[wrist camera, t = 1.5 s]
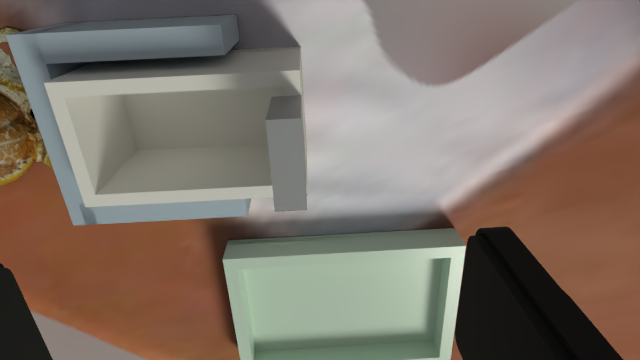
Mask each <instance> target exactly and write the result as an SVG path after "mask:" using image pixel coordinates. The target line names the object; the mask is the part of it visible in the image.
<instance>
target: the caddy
mask: <svg viewBox="0 0 640 360" xmlns="http://www.w3.org/2000/svg"><path fill="white" fill-rule="evenodd" d="M44 85H45V88H46V91H47V94H48V97H49V100H50V103H51V106H52V109H53V112H54V115H55V118H56V121H57V124H58V127H59V130H60V133H61V136H62V139H63V142H64V145H65V148H66V151H67V154H68V157H69V160H70V163H71V166H72V169H73V172H74V175H75V178H76V181H77V184H78V187H79V190H80V193H81V196H82V199H83V202H84V205H85V207H100V206H119V205H138V204H157V203H175V202H194V201H213V200H232V199H250V198H269V197H273V198H274V207H275V212H276V211H295V210H307V195H308V187H307V140H306V124H305V107H304V91H303V74H302V58H301V47H283V48H263V49H243V50H229V51H228V52H227V53H226V54H225V55H217V56H196V57H176V58H156V59H136V60H116V61H96V62H92V63H90V64H88V65H85V66H83V67H80V68H78V69H76V70H73V71H71V72H69V73H66V74H64V75H61V76H59V77H57V78H54V79H52V80H50V81H47V82H45V83H44Z"/></svg>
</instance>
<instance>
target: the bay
mask: <svg viewBox="0 0 640 360" xmlns="http://www.w3.org/2000/svg"><path fill="white" fill-rule="evenodd" d="M6 38H7V40H8V43H9V46H10V49H11V52H12V54H13V57H14V60H15V63H16V66H17V68H18V71H19V74H20V77H21V80H22V82H23V85H24V88H25V91H26V94H27V96H28V99H29V102H30V105H31V108H32V110H33V113H34V116H35V119H36V122H37V124H38V127H39V130H40V133H41V136H42V139H43V141H44V144H45V147H46V150H47V153H48V155H49V158H50V161H51V164H52V167H53V169H54V172H55V175H56V178H57V181H58V183H59V186H60V189H61V192H62V195H63V197H64V200H65V203H66V206H67V209H68V211H69V214H70V217H71V220H72V223H73V225H91V224H109V223H128V222H146V221H165V220H183V219H201V218H220V217H238V216H247V215H248V211H249V206H250V202H251V198H250V199H232V200H213V201H194V202H175V203H157V204H138V205H119V206H100V207H85V205H84V202H83V199H82V196H81V193H80V190H79V187H78V184H77V181H76V178H75V175H74V172H73V169H72V166H71V163H70V160H69V157H68V154H67V151H66V148H65V145H64V142H63V139H62V136H61V133H60V130H59V127H58V124H57V121H56V118H55V115H54V112H53V109H52V106H51V103H50V100H49V97H48V94H47V91H46V88H45V85H44V83H45V82H47V81H50V80H52V79H54V78H57V77H59V76H61V75H64V74H66V73H69V72H71V71H73V70H76V69H78V68H80V67H83V66H85V65H88V64H90V63H92V62H96V61H116V60H136V59H156V58H176V57H196V56H217V55H225V54H226V53H227V52H228V51H229V50H230V49H231V48H232V47H233V46H234V45H235V44H236V43H237V42H238V41H239V40H240V38H239V30H238V22H237V15H217V16H197V17H176V18H155V19H135V20H114V21H93V22H73V23H61V24H56V25H51V26H46V27H41V28H37V29H32V30H27V31H22V32H17V33H13V34H8V35H6Z"/></svg>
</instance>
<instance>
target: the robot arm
mask: <svg viewBox="0 0 640 360" xmlns="http://www.w3.org/2000/svg"><path fill="white" fill-rule="evenodd" d="M455 337H456V343H457V346H458V349H459V351H460V354H461V356H462V358H463V360H623V359H622V358H621V357H620V355H619V354H618V353H617V352H616V351H615V350H614V348H613V347H612V346H611V345H610V344H609V342H608V341H607V340H606V339H605V338H604V337H603V335H602V334H601V333H600V332H599V331H598V330H597V328H596V327H595V326H594V325H593V324H592V322H591V321H590V320H589V319H588V318H587V317H586V315H585V314H584V313H583V312H582V311H581V309H580V308H579V307H578V306H577V305H576V304H575V302H574V301H573V300H572V299H571V298H570V297H569V296H568V295H567V294H566V293H565V292H564V291H563V290H562V289H561V288H560V287H559V286H558V284H557V283H556V282H555V281H554V280H553V278H552V277H551V276H550V275H549V274H548V273H547V271H546V270H545V269H544V268H543V267H542V265H541V264H540V263H539V262H538V261H537V259H536V258H535V257H534V256H533V255H532V254H531V252H530V251H529V250H528V249H527V248H526V246H525V245H524V244H523V243H522V242H521V240H520V239H519V238H518V237H517V236H516V235H515V233H514V232H513V231H512V230H511V229H510V228H509V227H493V228H480V229H478V230H477V232H476V235H475V236H470V237H469V239H468V242H467V249H466V256H465V263H464V270H463V278H462V285H461V292H460V299H459V307H458V314H457V321H456V328H455ZM0 360H53V359H52V357H51V356H50V353H49V351H48V349H47V346H46V345H45V342H44V340H43V338H42V336H41V334H40V331H39V329H38V327H37V325H36V323H35V321H34V319H33V317H32V314H31V312H30V310H29V308H28V306H27V303H26V301H25V299H24V297H23V295H22V293H21V290H20V288H19V286H18V284H17V282H16V280H15V278H14V275H13V273H12V272H11V270H9V269H8V268H4V266H3V265H2V264H1V263H0Z"/></svg>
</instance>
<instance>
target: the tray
mask: <svg viewBox="0 0 640 360" xmlns="http://www.w3.org/2000/svg"><path fill="white" fill-rule="evenodd" d="M465 247H466V246H465V244H464V242H463V241H462V239H461V237H460V236H459V234H458V232H457V231H456V229H455V228H445V229H427V230H409V231H391V232H373V233H355V234H336V235H318V236H300V237H282V238H264V239H245V240H228V242H227V246H226V249H225V253H224V256H223V265H224V271H225V276H226V282H227V287H228V293H229V299H230V304H231V310H232V315H233V321H234V327H235V332H236V338H237V343H238V349H239V355H240V360H450V359H451V351H452V344H453V337H454V329H455V322H456V314H457V307H458V299H459V292H460V285H461V277H462V270H463V262H464V255H465Z"/></svg>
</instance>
